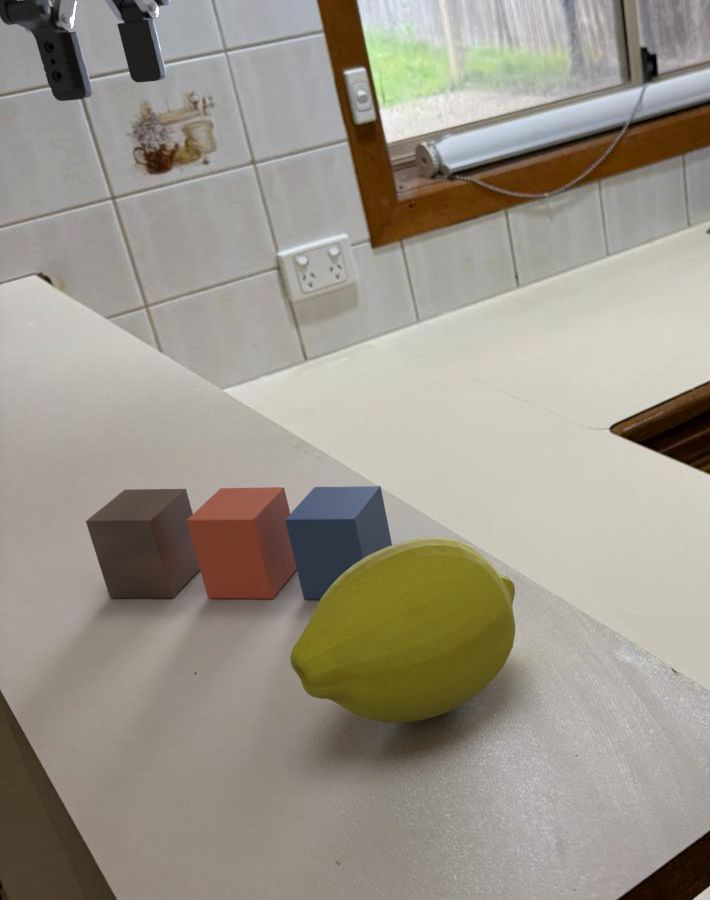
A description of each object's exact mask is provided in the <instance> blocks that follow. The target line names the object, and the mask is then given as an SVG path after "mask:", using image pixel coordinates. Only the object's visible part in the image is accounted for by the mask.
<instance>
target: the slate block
mask: <svg viewBox="0 0 710 900" xmlns="http://www.w3.org/2000/svg"><path fill="white" fill-rule="evenodd" d="M383 496H384V495H383V491H382V486H381V485H369V486H368V485H364V486H363V485H362V486H358V485H357V486H355V485H353V486H313V488H312V489H311V490H310V491H309V492H308V494H307V495H306V496H305V497H304V498H303V499H302V500H301V501H300V503H298V505H297V506H296V507H295V508H294V509H292V511H291V512H290V515H289V516H288V517H287V518H286V519H285V521H286V526H287V530H288V534H289V538H290V542H291V547H292V551H293V555H294V559H295V564H296V568H297V570H296V571H297V576H298V580H299V585H300V588H301V593H302V597H303V600H313V601H314V600H319V601H320V599H321V598H322V597H323V595H324V594H325V593H326V591H327V590H328V588H329V587H330V586H331V585H332V584H333V583H334V582H335V581H336V580H337V579H338V578H339V577H340V576H341V575H342V574H343V573H344V572H345V571H347V570H348V569H349V568H350V567H352V566H353V565H354V564H356V563H357V562H359V561H360V560H362V559H363V558H365V557H367V556H369V555H371V554H373V553H375V552H377V551H379V550H381V549H383V548H386V547H388V546H391V545H393V542H392V536H391V532H390V531H391V530H390V527H389V522H388V517H387V511H386V507H385V502H384V501H385V500H384V497H383Z"/></svg>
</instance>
